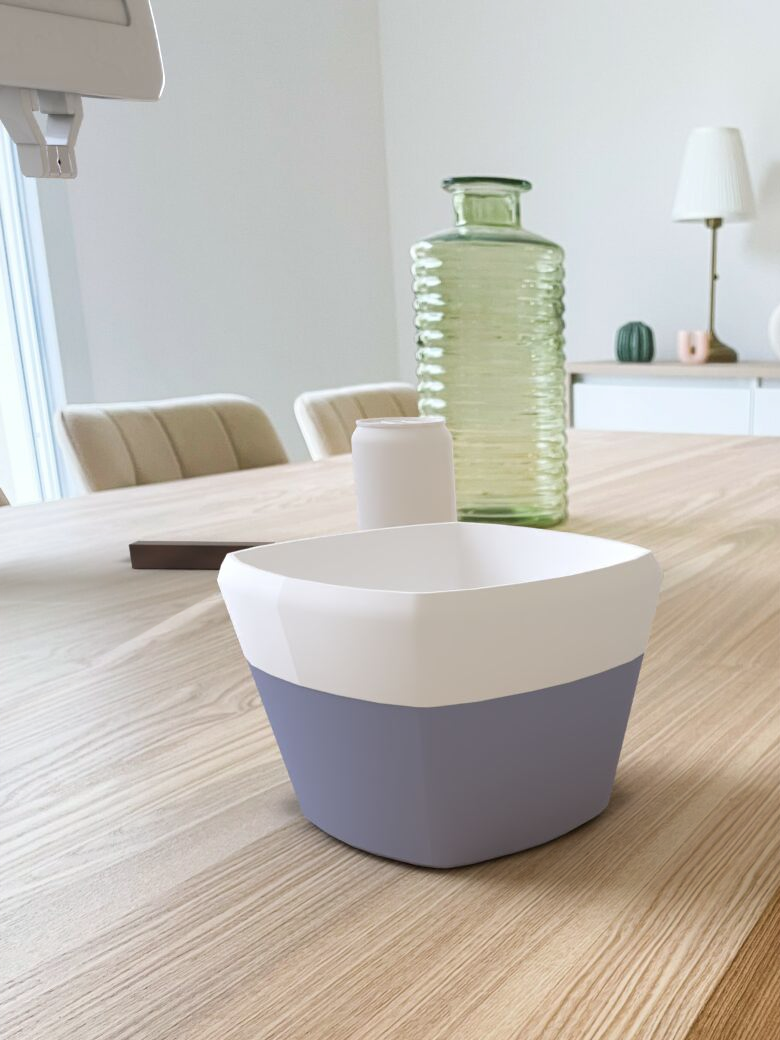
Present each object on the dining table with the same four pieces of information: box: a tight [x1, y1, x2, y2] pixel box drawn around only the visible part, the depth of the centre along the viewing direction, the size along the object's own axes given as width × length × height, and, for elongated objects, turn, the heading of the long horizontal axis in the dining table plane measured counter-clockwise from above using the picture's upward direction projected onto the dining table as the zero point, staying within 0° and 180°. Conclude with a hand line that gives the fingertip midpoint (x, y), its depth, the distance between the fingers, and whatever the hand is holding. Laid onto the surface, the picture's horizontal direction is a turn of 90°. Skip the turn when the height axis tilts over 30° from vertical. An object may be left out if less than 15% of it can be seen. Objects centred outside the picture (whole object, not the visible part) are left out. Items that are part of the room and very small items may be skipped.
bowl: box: [216, 521, 665, 869], centre depth 54 cm, size 15×15×11 cm
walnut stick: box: [128, 540, 277, 570], centre depth 110 cm, size 12×2×2 cm, turn 88°
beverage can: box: [350, 416, 458, 531], centre depth 107 cm, size 8×8×12 cm
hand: (50, 178), depth 80 cm, fingers closed
